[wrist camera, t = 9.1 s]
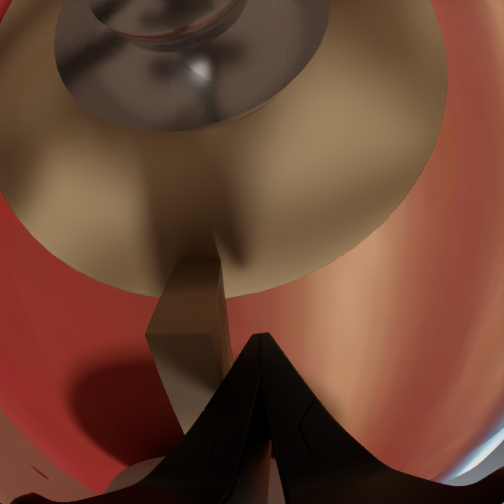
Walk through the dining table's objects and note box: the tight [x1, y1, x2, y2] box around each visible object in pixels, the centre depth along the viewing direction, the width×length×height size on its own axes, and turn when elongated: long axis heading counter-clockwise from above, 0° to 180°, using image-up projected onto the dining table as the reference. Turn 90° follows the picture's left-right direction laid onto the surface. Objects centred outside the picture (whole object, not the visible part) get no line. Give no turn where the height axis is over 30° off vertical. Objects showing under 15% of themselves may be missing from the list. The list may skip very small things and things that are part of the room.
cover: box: [54, 0, 330, 131], centre depth 5 cm, size 7×7×4 cm
